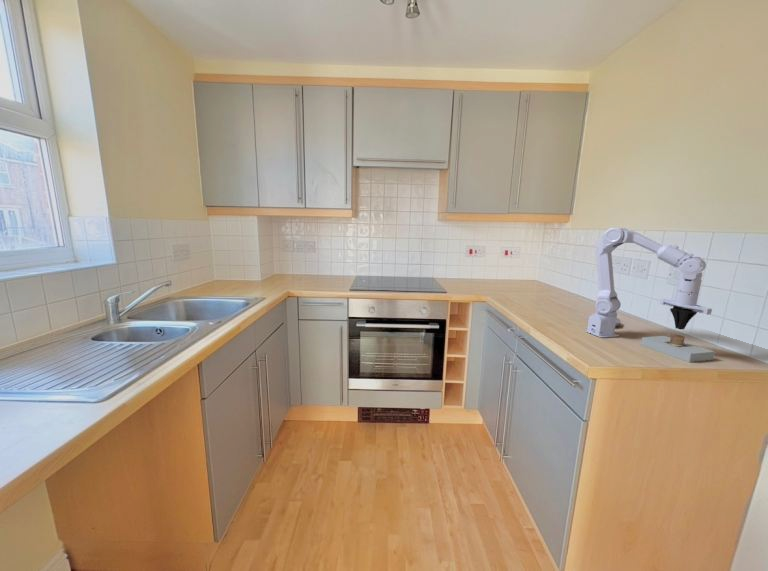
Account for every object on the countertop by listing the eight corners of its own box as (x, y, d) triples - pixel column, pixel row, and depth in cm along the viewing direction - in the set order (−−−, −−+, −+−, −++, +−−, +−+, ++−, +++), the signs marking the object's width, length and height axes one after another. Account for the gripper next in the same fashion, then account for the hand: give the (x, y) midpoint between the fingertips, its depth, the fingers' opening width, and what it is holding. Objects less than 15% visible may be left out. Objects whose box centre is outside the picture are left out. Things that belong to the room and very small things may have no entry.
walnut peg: (684, 353, 113) (687, 338, 111) (675, 354, 112) (678, 338, 111) (673, 349, 116) (677, 334, 115) (665, 350, 116) (668, 334, 115)
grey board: (689, 362, 105) (690, 353, 105) (640, 344, 120) (642, 337, 120) (713, 359, 108) (715, 351, 107) (662, 343, 123) (664, 335, 122)
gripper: (721, 295, 104) (712, 334, 106) (673, 287, 118) (666, 322, 120) (706, 296, 102) (697, 335, 105) (658, 287, 116) (652, 322, 119)
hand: (679, 328), depth 112 cm, fingers closed
